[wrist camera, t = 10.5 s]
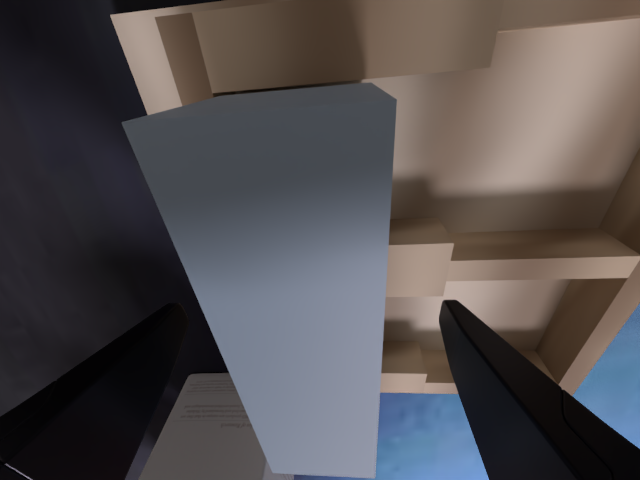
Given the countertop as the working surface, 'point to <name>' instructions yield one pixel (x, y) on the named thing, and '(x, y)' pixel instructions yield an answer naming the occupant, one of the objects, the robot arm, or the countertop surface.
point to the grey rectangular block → (286, 255)
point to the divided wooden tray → (457, 152)
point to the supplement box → (208, 436)
